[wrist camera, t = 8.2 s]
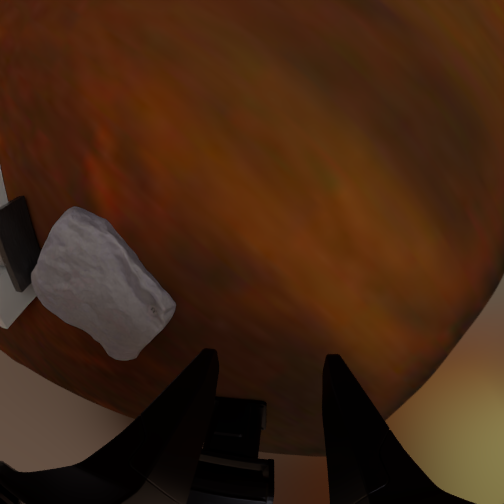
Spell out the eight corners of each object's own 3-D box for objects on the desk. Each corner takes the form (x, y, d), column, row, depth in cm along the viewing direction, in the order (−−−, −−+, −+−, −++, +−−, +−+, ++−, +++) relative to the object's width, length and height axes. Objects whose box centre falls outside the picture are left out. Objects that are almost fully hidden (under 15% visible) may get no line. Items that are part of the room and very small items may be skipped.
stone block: (86, 184, 20) (44, 270, 22) (54, 197, 15) (17, 295, 18) (201, 274, 23) (141, 344, 25) (194, 307, 19) (128, 379, 21)
